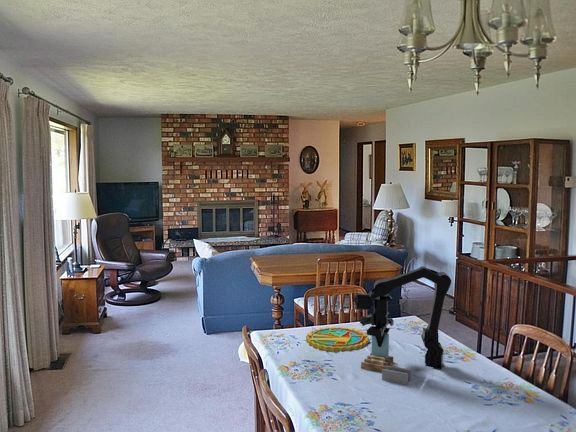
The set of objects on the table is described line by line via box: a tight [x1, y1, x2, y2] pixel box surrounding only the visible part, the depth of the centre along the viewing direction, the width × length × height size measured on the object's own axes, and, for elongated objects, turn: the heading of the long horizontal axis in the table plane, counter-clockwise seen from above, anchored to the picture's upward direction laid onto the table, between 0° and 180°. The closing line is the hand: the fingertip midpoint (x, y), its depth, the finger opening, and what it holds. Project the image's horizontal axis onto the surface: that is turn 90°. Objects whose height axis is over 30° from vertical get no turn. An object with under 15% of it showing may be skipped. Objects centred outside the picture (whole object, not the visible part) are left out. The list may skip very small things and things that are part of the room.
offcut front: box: [369, 355, 385, 362], centre depth 212 cm, size 6×2×4 cm, turn 62°
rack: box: [359, 352, 395, 373], centre depth 212 cm, size 11×12×3 cm
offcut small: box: [371, 359, 384, 365], centre depth 208 cm, size 5×2×4 cm, turn 62°
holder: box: [381, 365, 412, 385], centre depth 198 cm, size 10×5×4 cm, turn 62°
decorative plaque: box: [305, 326, 370, 353], centre depth 244 cm, size 30×3×30 cm
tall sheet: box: [371, 333, 390, 358], centre depth 215 cm, size 7×2×10 cm, turn 62°
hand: (380, 346), depth 215 cm, fingers closed on tall sheet, 1 cm apart
